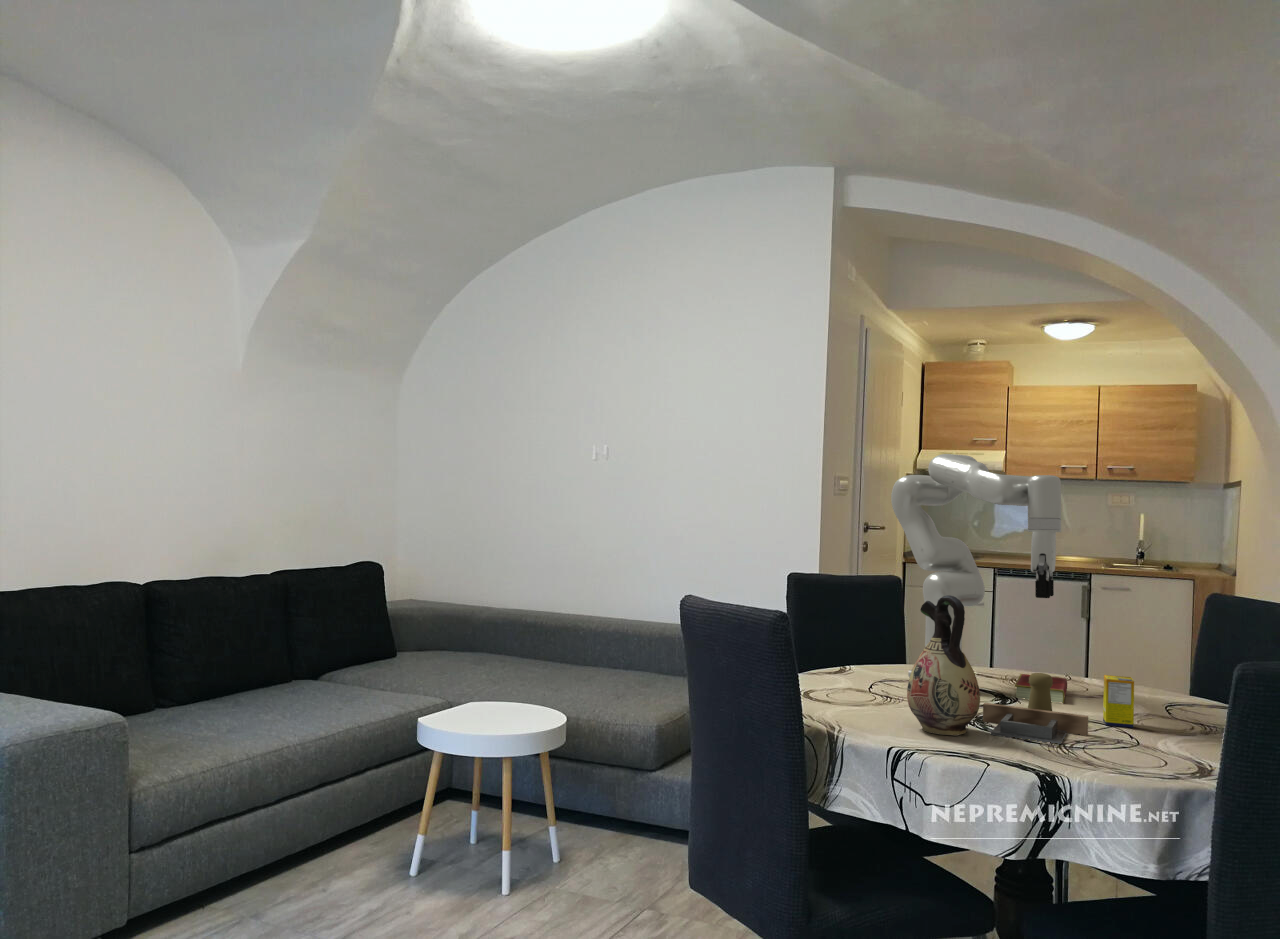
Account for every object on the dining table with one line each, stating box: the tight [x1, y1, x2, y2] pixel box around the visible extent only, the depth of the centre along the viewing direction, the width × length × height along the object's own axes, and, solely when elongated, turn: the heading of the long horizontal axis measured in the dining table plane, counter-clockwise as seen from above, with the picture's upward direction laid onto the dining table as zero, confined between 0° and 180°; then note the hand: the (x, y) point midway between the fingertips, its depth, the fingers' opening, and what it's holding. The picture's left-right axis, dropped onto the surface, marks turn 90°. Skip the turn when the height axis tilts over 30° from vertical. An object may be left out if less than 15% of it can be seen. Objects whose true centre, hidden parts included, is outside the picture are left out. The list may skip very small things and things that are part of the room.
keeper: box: [990, 713, 1068, 745], centre depth 216 cm, size 14×12×3 cm
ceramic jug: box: [906, 595, 981, 737], centre depth 216 cm, size 17×15×30 cm
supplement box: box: [1102, 674, 1135, 729], centre depth 230 cm, size 6×6×11 cm
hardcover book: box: [1014, 673, 1068, 703], centre depth 264 cm, size 12×21×4 cm, turn 155°
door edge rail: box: [982, 702, 1089, 736], centre depth 223 cm, size 22×2×4 cm, turn 61°
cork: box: [1027, 672, 1053, 711], centre depth 231 cm, size 6×6×11 cm
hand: (1044, 596), depth 239 cm, fingers open, 9 cm apart
